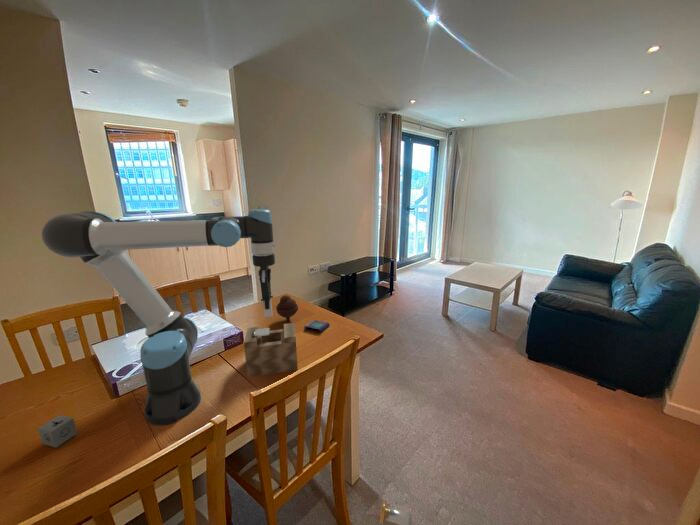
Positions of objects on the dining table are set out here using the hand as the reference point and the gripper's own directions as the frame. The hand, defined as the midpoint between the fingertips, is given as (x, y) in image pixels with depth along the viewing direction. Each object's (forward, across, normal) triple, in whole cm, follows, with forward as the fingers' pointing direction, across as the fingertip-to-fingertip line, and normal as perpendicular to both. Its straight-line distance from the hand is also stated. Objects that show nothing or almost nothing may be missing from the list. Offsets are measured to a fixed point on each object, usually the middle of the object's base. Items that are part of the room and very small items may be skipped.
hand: (268, 315), depth 110 cm
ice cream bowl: (+21, +36, -5) cm, 41 cm away
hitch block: (+20, 0, 0) cm, 20 cm away
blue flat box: (+21, +22, -17) cm, 35 cm away
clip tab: (+7, 0, +6) cm, 9 cm away
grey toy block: (+21, -25, +55) cm, 64 cm away
